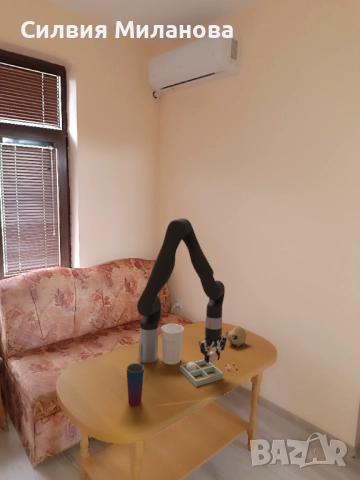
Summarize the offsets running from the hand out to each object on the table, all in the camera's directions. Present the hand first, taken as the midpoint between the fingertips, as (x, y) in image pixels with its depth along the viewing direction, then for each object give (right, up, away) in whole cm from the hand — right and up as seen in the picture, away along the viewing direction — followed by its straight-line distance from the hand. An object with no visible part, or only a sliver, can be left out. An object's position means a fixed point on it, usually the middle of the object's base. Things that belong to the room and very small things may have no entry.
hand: (212, 360), depth 148 cm
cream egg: (-10, -7, +4) cm, 13 cm away
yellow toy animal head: (+16, -4, +34) cm, 38 cm away
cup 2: (-19, -6, +15) cm, 25 cm away
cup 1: (-33, -10, -18) cm, 39 cm away
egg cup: (+10, -7, +9) cm, 15 cm away
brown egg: (0, -1, 0) cm, 1 cm away
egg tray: (-5, -8, +3) cm, 10 cm away
